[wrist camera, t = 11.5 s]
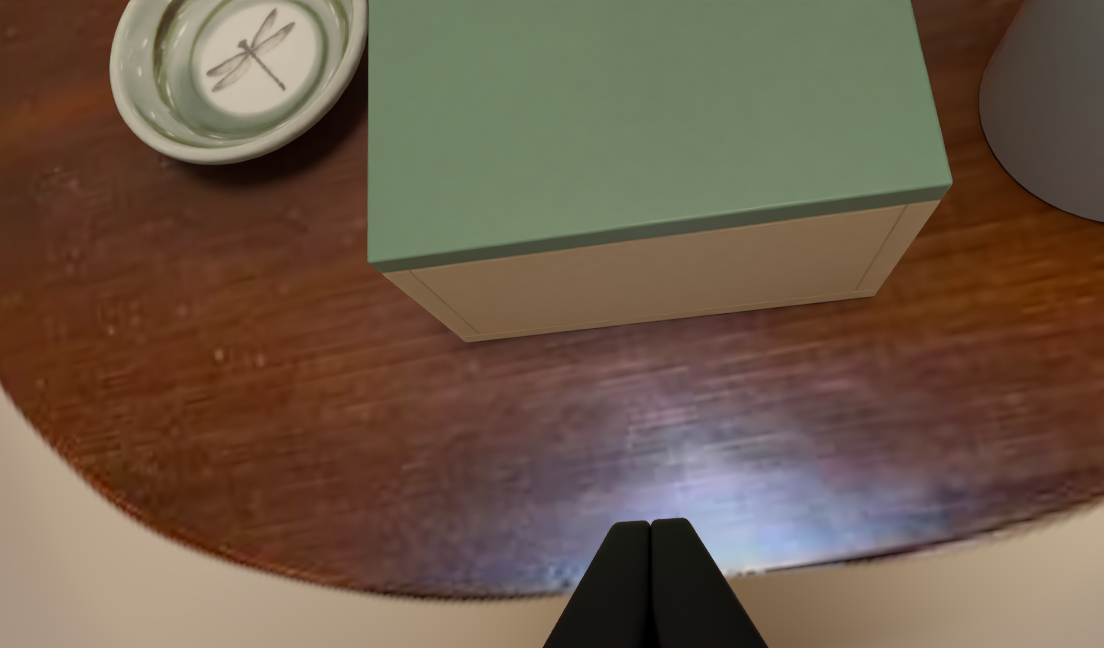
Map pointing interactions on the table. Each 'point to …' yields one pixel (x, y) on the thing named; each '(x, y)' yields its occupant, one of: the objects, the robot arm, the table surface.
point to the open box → (669, 275)
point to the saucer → (232, 72)
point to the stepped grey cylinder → (1050, 103)
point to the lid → (636, 120)
